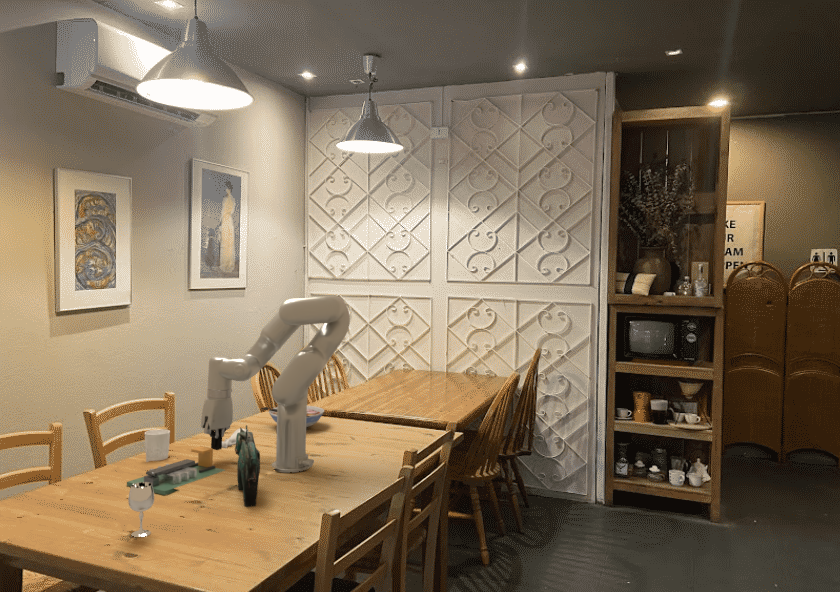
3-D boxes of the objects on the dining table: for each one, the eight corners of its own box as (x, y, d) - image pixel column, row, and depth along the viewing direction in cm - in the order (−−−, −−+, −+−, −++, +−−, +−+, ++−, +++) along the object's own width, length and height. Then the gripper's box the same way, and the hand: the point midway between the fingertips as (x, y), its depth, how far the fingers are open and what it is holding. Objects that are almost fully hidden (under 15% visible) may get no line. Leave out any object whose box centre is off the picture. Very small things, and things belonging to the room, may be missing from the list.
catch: (212, 466, 208) (212, 448, 207) (202, 470, 204) (202, 451, 204) (201, 464, 210) (201, 446, 210) (191, 467, 206) (191, 449, 206)
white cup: (160, 465, 212) (161, 435, 212) (139, 463, 214) (139, 433, 214) (174, 459, 220) (174, 430, 220) (153, 457, 222) (153, 428, 221)
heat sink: (199, 476, 198) (199, 469, 198) (163, 489, 186) (163, 480, 186) (170, 470, 203) (170, 462, 203) (133, 482, 191) (134, 473, 191)
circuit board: (226, 473, 205) (226, 467, 205) (164, 495, 184) (165, 488, 184) (189, 465, 213) (189, 459, 213) (126, 485, 191) (126, 479, 191)
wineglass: (133, 529, 159) (133, 481, 159) (157, 529, 160) (157, 481, 160) (124, 538, 154) (124, 488, 153) (149, 538, 154) (149, 488, 154)
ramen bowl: (337, 427, 272) (337, 408, 272) (300, 438, 252) (300, 417, 252) (293, 419, 285) (293, 400, 285) (254, 428, 266) (254, 409, 265)
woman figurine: (259, 427, 250) (235, 441, 233) (259, 438, 250) (235, 454, 233) (231, 425, 253) (206, 439, 235) (231, 436, 253) (206, 451, 236)
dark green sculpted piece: (233, 486, 194) (234, 419, 193) (255, 484, 196) (256, 418, 195) (239, 509, 175) (240, 435, 175) (263, 506, 177) (265, 434, 177)
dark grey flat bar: (195, 463, 202) (195, 460, 202) (154, 476, 188) (154, 473, 188) (186, 462, 204) (187, 459, 204) (145, 474, 190) (145, 471, 190)
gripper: (227, 389, 221) (224, 442, 222) (193, 395, 208) (190, 451, 208) (243, 392, 218) (240, 446, 218) (210, 398, 204) (207, 456, 205)
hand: (216, 448), depth 213 cm, fingers closed
